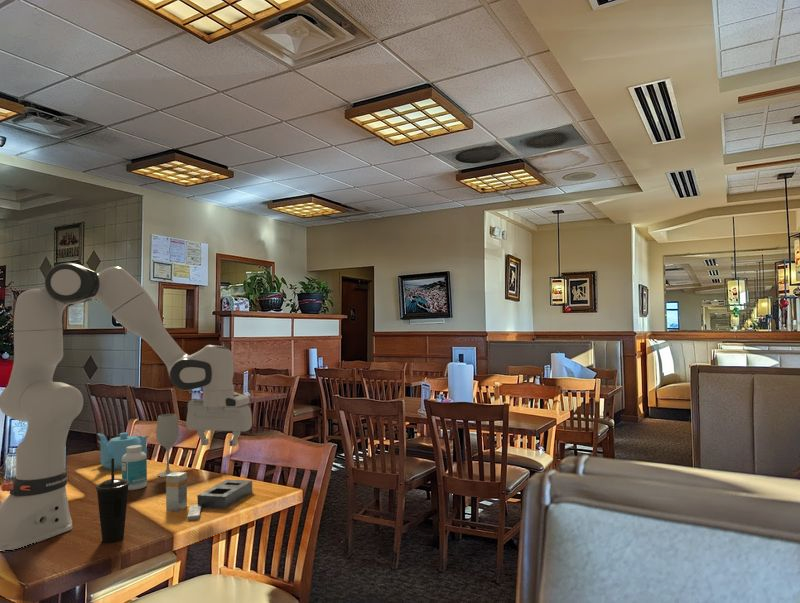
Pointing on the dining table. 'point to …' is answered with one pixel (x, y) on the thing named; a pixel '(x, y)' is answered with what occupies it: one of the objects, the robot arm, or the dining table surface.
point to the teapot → (118, 448)
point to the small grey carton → (176, 491)
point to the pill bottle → (134, 467)
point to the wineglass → (167, 435)
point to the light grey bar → (194, 512)
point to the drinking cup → (112, 507)
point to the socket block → (225, 494)
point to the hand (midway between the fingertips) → (219, 445)
